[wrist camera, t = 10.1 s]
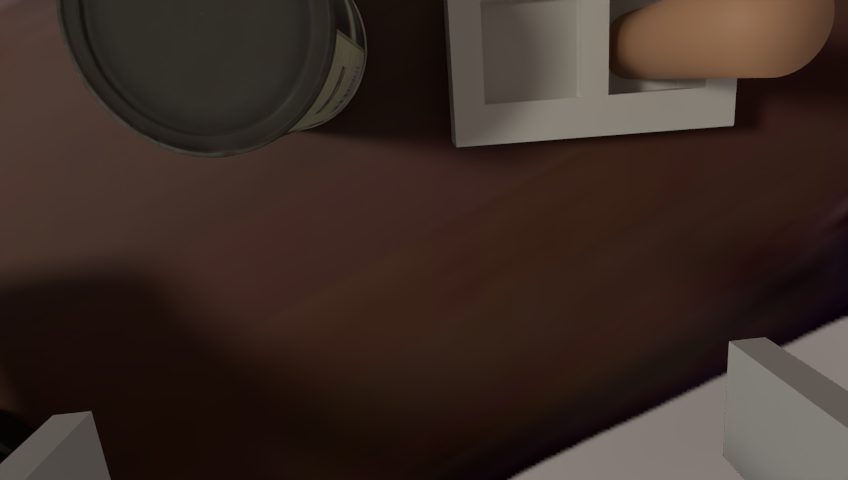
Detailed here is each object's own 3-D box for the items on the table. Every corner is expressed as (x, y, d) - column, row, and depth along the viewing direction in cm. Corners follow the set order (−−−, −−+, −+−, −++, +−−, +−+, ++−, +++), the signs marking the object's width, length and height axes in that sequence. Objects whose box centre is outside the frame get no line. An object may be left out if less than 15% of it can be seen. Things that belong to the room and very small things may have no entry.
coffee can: (200, -55, 32) (43, -162, 19) (375, -32, 33) (346, -121, 19) (198, 122, 35) (60, 142, 21) (360, 141, 35) (325, 172, 22)
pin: (601, 82, 34) (720, 82, 21) (602, 13, 33) (728, -34, 20) (666, 76, 34) (827, 73, 21) (668, 7, 33) (841, -44, 19)
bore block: (451, 141, 35) (456, 147, 32) (441, -28, 33) (444, -43, 29) (698, 121, 35) (733, 125, 31) (708, -49, 33) (747, -68, 29)
